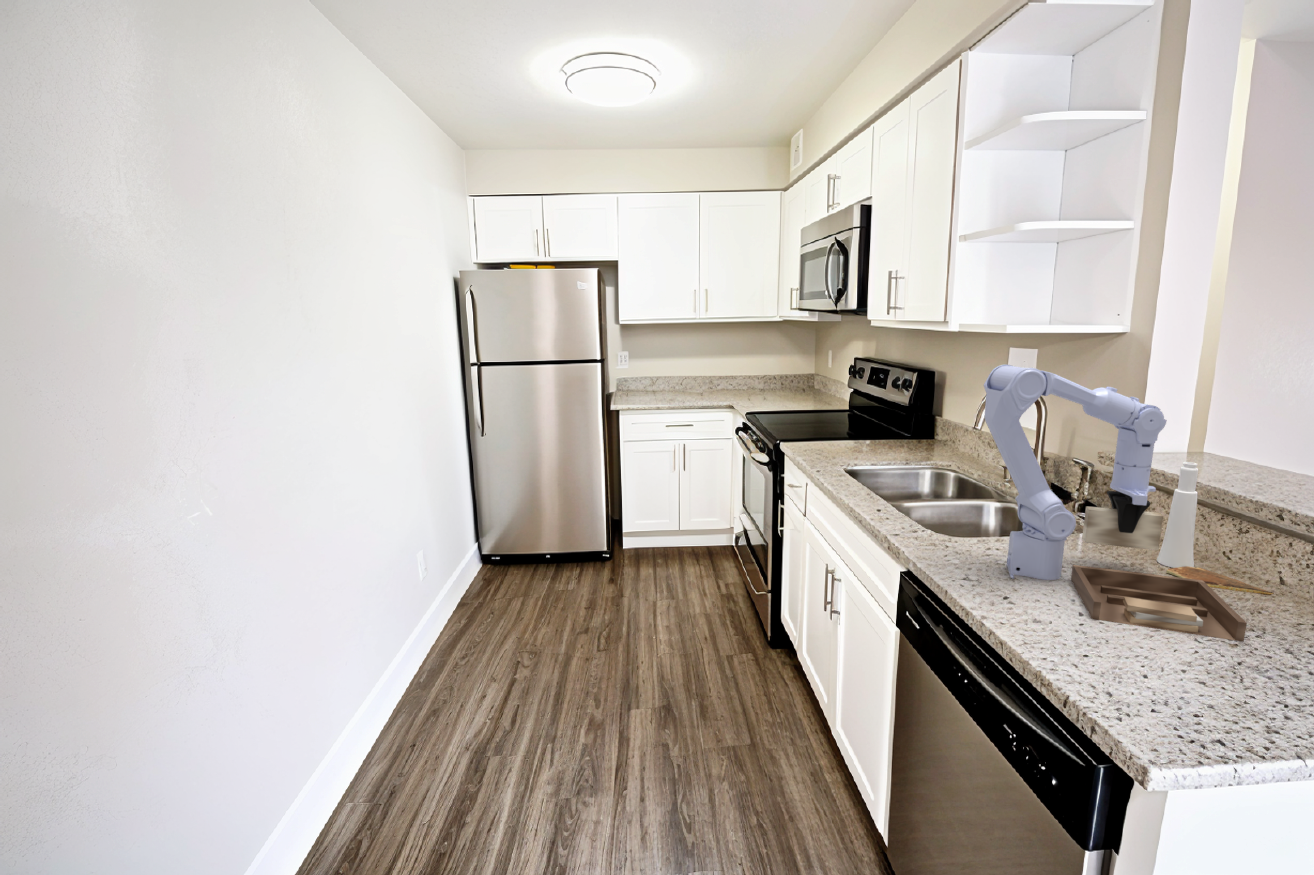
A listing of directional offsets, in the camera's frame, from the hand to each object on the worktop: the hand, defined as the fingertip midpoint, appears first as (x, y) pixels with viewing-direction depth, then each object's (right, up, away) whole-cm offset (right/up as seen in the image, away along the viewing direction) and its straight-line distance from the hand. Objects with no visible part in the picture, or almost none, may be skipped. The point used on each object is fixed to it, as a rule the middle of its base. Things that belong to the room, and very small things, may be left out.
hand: (1123, 529), depth 120 cm
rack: (-6, -13, -13) cm, 19 cm away
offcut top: (-9, -11, -19) cm, 24 cm away
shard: (+16, -11, -2) cm, 19 cm away
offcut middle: (-8, -12, -19) cm, 24 cm away
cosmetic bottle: (+16, -9, +7) cm, 19 cm away
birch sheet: (0, -3, +1) cm, 3 cm away
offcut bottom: (-9, -13, -19) cm, 24 cm away
